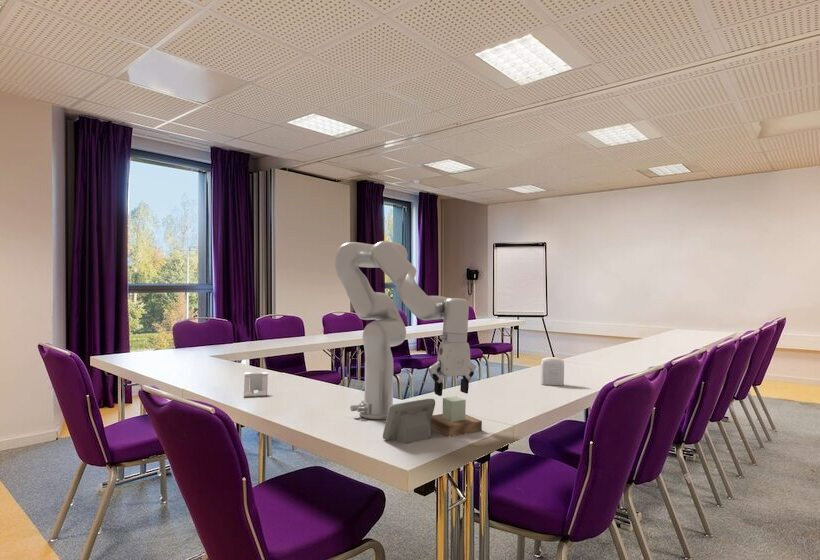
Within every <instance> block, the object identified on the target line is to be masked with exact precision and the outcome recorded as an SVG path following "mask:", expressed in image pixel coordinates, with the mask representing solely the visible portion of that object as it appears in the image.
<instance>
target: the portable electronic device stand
mask: <svg viewBox="0 0 820 560" xmlns="http://www.w3.org/2000/svg"><path fill="white" fill-rule="evenodd" d="M268 376H269V372H267V371H265V372H262V371H261V372H244V378H243V379H244V382H243V383H244V384H243V398H252V397H253V398H254V397H255V398H256V397H268V383H269V382H268V380H269V377H268ZM254 391H258V392H255V393H254Z"/></svg>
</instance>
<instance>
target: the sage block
mask: <svg viewBox="0 0 820 560" xmlns="http://www.w3.org/2000/svg"><path fill="white" fill-rule="evenodd" d="M466 402H467V401H466V399H464V398H461V397H458V396H457V395H456V396H449V397H448V396H447V397H443V398H442V414H443V417H442V418H445V419H447V420H449V421H451V422H453V421H459V420H465V414H466Z"/></svg>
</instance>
